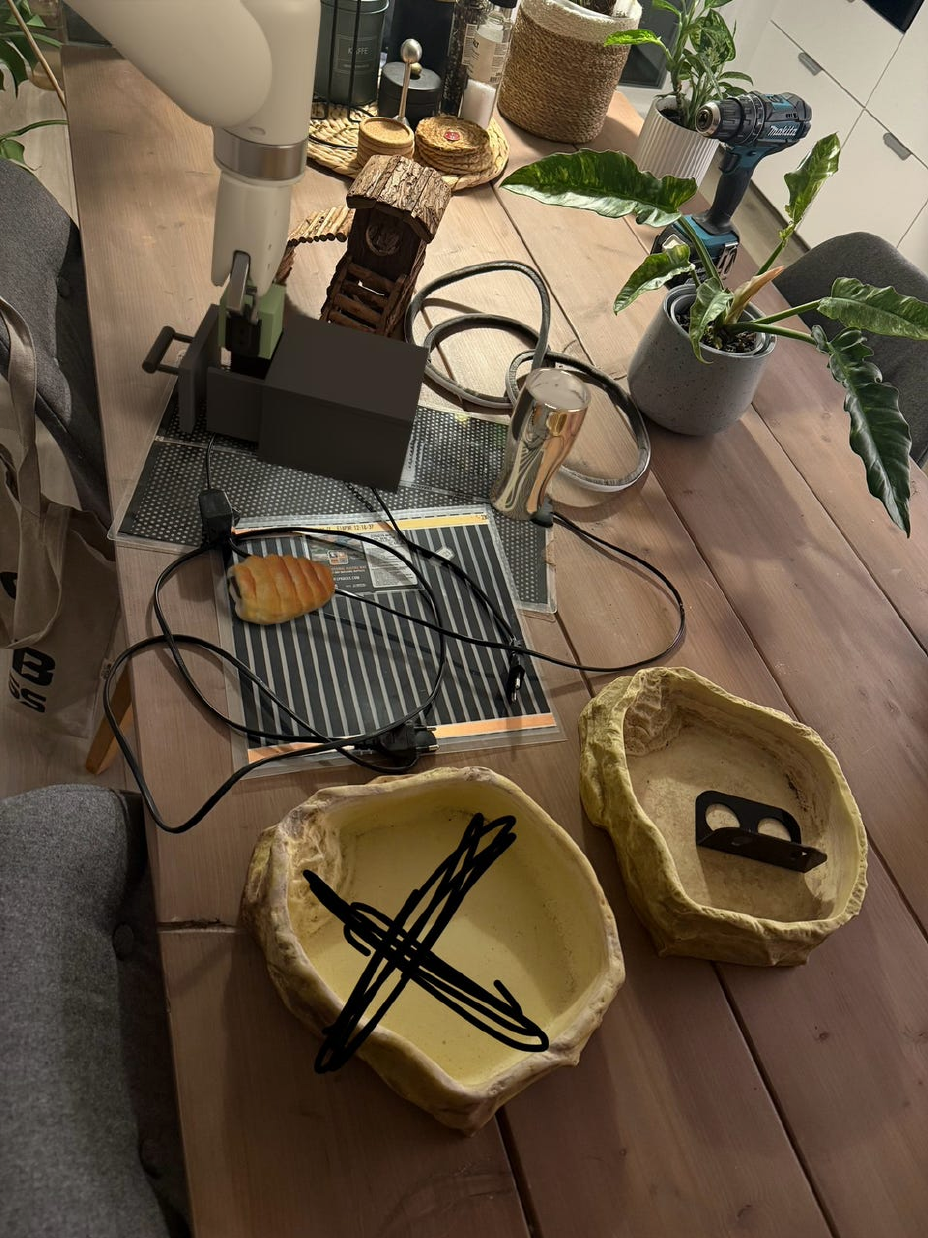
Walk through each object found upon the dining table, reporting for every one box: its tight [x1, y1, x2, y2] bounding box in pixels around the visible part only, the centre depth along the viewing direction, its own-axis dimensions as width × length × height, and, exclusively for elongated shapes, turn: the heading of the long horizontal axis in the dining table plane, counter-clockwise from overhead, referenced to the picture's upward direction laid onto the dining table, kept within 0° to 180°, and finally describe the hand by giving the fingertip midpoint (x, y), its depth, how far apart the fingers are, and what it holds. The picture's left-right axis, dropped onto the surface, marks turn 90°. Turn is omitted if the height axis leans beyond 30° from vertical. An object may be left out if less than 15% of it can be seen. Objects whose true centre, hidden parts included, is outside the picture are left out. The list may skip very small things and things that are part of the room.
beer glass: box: [488, 367, 592, 521], centre depth 90 cm, size 7×7×15 cm
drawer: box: [141, 303, 286, 444], centre depth 90 cm, size 18×11×8 cm, turn 84°
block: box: [218, 280, 286, 359], centre depth 84 cm, size 5×5×5 cm
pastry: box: [226, 553, 336, 626], centre depth 78 cm, size 9×7×4 cm
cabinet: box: [257, 312, 430, 494], centre depth 91 cm, size 15×13×10 cm
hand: (249, 334), depth 86 cm, fingers closed on block, 5 cm apart
